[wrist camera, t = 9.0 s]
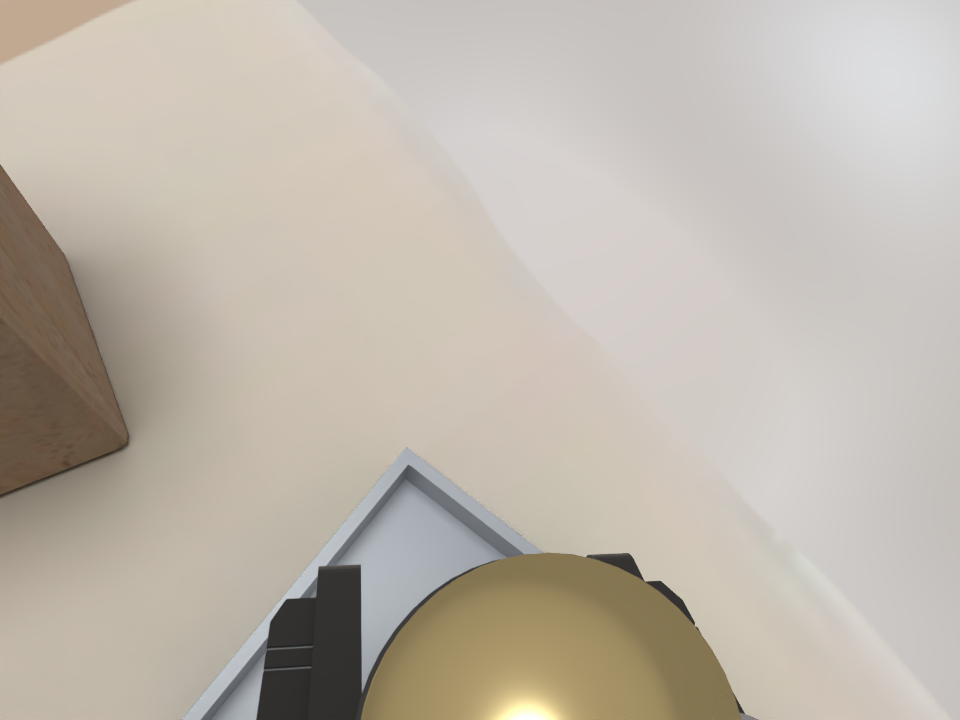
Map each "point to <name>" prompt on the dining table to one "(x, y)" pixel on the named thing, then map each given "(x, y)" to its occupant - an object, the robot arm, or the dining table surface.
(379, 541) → the tray
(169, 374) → the dining table surface
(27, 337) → the wooden block
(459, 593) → the pin
